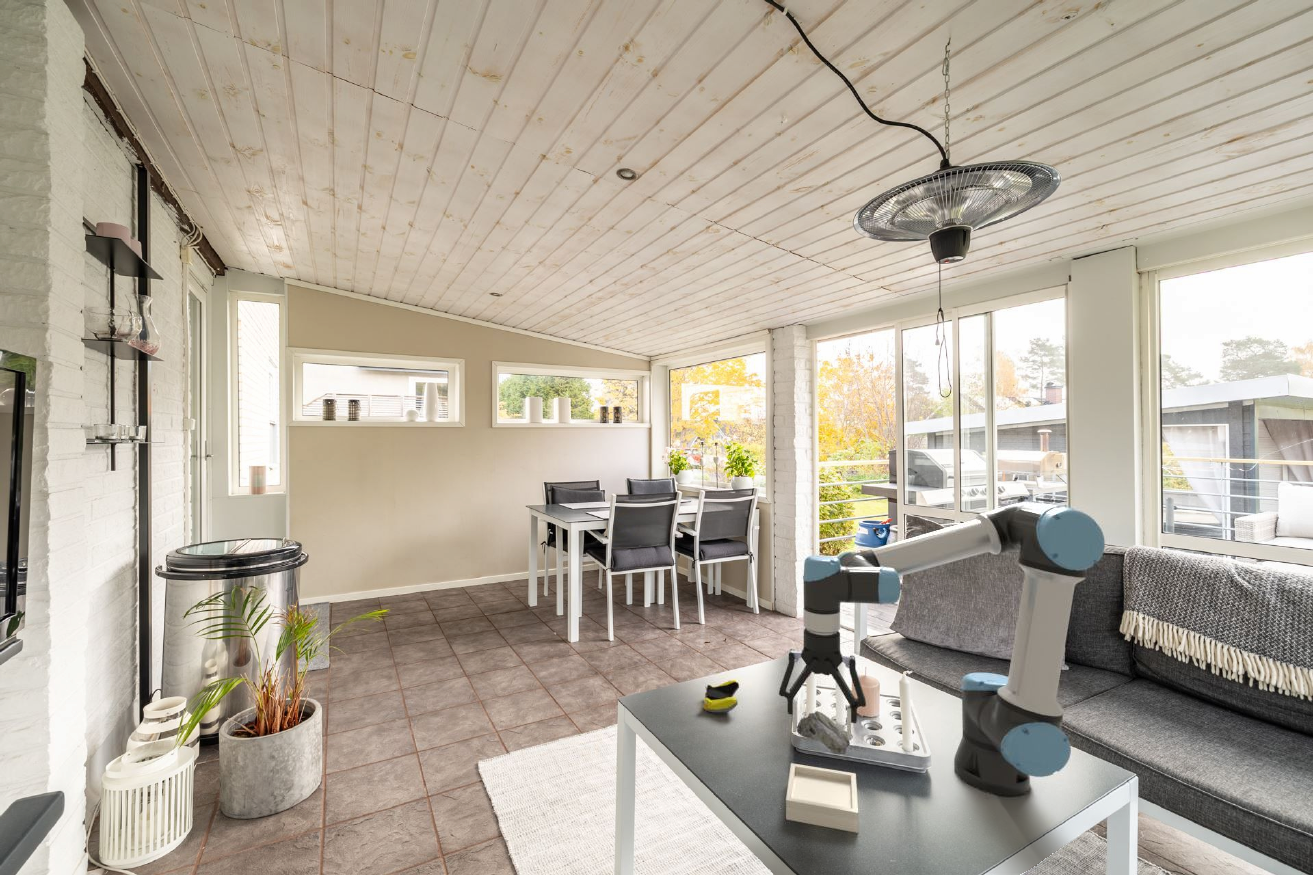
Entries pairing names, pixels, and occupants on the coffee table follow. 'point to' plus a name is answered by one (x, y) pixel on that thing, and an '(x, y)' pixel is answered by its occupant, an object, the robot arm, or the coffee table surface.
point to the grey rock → (823, 732)
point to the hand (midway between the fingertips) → (821, 732)
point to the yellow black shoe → (721, 697)
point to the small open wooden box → (822, 797)
